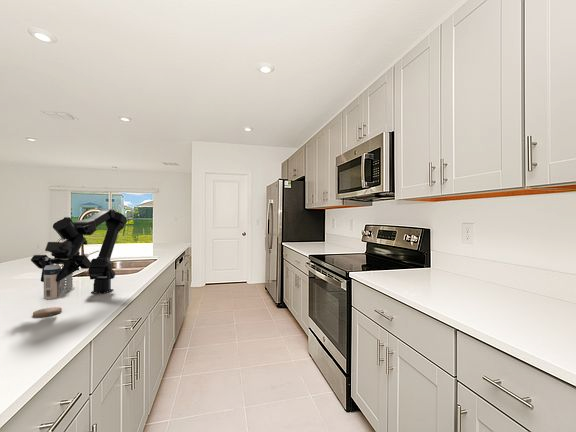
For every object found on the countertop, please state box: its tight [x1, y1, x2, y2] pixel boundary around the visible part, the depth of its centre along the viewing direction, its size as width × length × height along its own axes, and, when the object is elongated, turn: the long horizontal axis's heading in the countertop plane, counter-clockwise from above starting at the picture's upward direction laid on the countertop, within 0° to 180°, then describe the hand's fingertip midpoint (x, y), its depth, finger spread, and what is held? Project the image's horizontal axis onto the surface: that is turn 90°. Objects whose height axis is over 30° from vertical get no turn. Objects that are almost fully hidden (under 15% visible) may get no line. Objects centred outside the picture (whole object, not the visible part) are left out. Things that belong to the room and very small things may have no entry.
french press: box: [60, 237, 76, 293], centre depth 135 cm, size 10×12×25 cm
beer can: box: [43, 264, 62, 301], centre depth 103 cm, size 5×5×12 cm
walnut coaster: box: [32, 306, 63, 318], centre depth 103 cm, size 8×8×1 cm
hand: (49, 281), depth 101 cm, fingers closed on beer can, 5 cm apart
